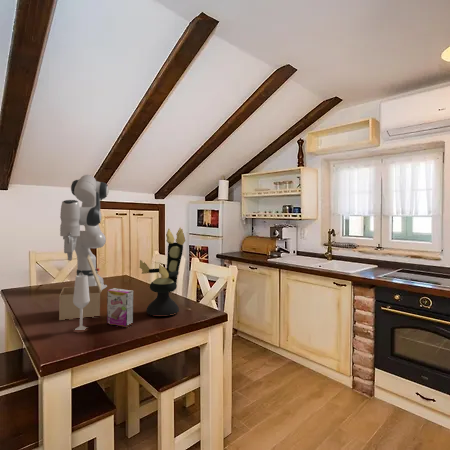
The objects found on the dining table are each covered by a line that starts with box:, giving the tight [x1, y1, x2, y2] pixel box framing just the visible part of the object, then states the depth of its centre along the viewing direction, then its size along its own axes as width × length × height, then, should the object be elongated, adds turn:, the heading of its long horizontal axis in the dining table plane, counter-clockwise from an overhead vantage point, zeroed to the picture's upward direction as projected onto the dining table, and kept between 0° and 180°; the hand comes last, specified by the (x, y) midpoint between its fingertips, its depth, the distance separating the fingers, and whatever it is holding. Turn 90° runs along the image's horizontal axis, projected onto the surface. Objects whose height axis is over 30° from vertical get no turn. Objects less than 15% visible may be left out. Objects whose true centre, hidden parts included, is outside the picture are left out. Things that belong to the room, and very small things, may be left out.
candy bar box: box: [106, 287, 134, 326], centre depth 148 cm, size 11×5×16 cm, turn 71°
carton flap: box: [87, 255, 102, 294], centre depth 164 cm, size 18×16×1 cm
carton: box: [58, 286, 101, 321], centre depth 162 cm, size 18×16×12 cm
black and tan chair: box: [139, 226, 186, 316], centre depth 168 cm, size 19×22×45 cm
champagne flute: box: [73, 275, 90, 330], centre depth 140 cm, size 7×7×24 cm
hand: (69, 260), depth 160 cm, fingers closed
